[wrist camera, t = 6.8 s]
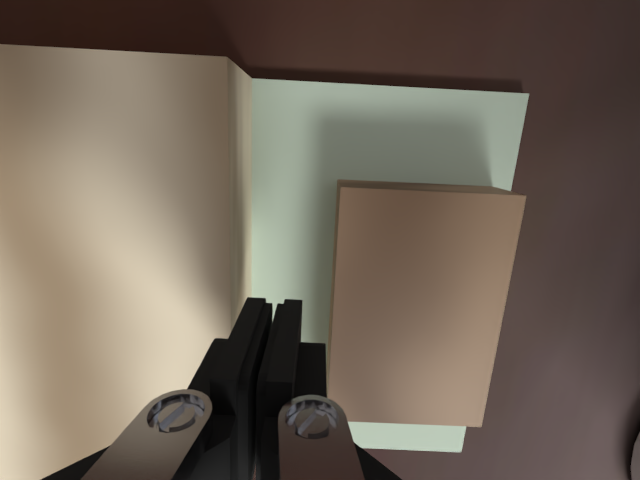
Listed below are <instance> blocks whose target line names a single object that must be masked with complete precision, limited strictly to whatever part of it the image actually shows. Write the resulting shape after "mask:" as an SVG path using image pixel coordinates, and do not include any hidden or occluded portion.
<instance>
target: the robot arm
mask: <svg viewBox="0 0 640 480" xmlns="http://www.w3.org/2000/svg"><path fill="white" fill-rule="evenodd" d="M272 314H273V305H272V303H266V298H253V297H247V299H246V301H245V303H244V306H243V308H242V310H241V312H240V314H239V316H238V318H237V321H236V323H235V325H234V327H233V329H232V331H231V333H230V336H229V338H228V339H225V338H215V339H214V340H213V342H212V343H211V345H210V347H209V349H208V351H207V353H206V355H205V356H204V358H203V360H202V362H201V364H200V366H199V368H198V369H197V371H196V373H195V375H194V377H193V379H192V381H191V383H190V384H189V386H188V388H187V389H181V390H175V391H171V392H168V393H165V394H162V395H160V396H158V397H157V398H155V399H153V400H152V401H151V402H149V403H148V404H147V405H146V406H145V407H144V408H143V409H142V410H141V411H140V413H139V414H138V415H137V416H136V417H135V418H134V419H133V421H132V422H131V423H130V424H129V425H128V426H127V427H126V428H125V430H124V431H123V432H122V433H121V434H120V435H119V436H118V438H117V439H116V440H115V441H114V442H113V443H112V444H111V445H110V446H108V447H106V448H104V449H102V450H100V451H98V452H96V453H94V454H92V455H90V456H88V457H86V458H83V459H81V460H79V461H77V462H75V463H73V464H71V465H69V466H67V467H65V468H63V469H61V470H59V471H57V472H55V473H53V474H51V475H49V476H47V477H45V478H43V479H40V480H252V479H253V474H254V469H255V464H256V480H402V479H401V478H399V477H398V476H397V475H395V474H394V473H393V472H392V471H390V470H389V469H388V468H386V467H385V466H384V465H383V464H381V463H380V462H379V461H377V460H376V459H375V458H374V457H372V456H371V455H370V454H368V453H367V452H366V451H365V450H363V449H362V448H361V447H359V446H358V445H357V444H356V443H354V441H353V438H352V434H351V431H350V428H349V424H348V421H347V417H346V415H345V413H344V411H343V409H342V408H341V407H340V406H339V405H338V404H337V403H336V402H334V401H332V400H331V399H329V398H327V384H326V344H325V343H309V342H301V327H302V300H295V299H285V300H284V304H280V303H278V304H277V307H276V311H275V315H274V318H273V322H272ZM631 477H632V480H640V432H639V434H638V437H637V439H636V442H635V444H634V449H633V455H632V461H631Z"/></svg>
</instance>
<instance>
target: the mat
mask: <svg viewBox="0 0 640 480" xmlns="http://www.w3.org/2000/svg"><path fill="white" fill-rule="evenodd" d="M528 98H529V94H527V93H509V92H490V91H472V90H454V89H436V88H417V87H399V86H381V85H363V84H345V83H326V82H308V81H290V80H272V79H254V78H252V297H253V298H266V303H272V305H273V314H272V322H273V318H274V315H275V311H276V307H277V304H278V303H280V304H284V300H285V299H295V300H302V327H301V342H309V343H325V344H326V369H327V352H328V335H329V317H330V300H331V282H332V265H333V248H334V230H335V213H336V196H337V179H343V180H364V181H386V182H408V183H430V184H451V185H473V186H493V187H497V188H500V189H504V190H508V191H511V187H512V182H513V177H514V172H515V166H516V161H517V156H518V151H519V145H520V140H521V135H522V130H523V124H524V119H525V114H526V108H527V103H528ZM348 424H349V428H350V431H351V434H352V438H353V441H354V443H356V444H357V445H358V446H359V447H361V448H375V449H398V450H420V451H443V452H461V451H462V446H463V440H464V435H465V430H466V426H444V425H420V424H395V423H370V422H348Z"/></svg>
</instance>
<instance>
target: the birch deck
mask: <svg viewBox="0 0 640 480" xmlns="http://www.w3.org/2000/svg"><path fill="white" fill-rule="evenodd" d="M247 297H252V78H251V77H250V76H249V75H248V74H246V73H245V72H244V71H243V70H242V69H241V68H239V67H238V66H237V65H236V64H235V63H234V62H233V61H231V60H230V59H229V58H228V57H222V56H204V55H186V54H168V53H150V52H132V51H114V50H96V49H78V48H60V47H42V46H24V45H6V44H0V480H40V479H43V478H45V477H47V476H49V475H51V474H53V473H55V472H57V471H59V470H61V469H63V468H65V467H67V466H69V465H71V464H73V463H75V462H77V461H79V460H81V459H83V458H86V457H88V456H90V455H92V454H94V453H96V452H98V451H100V450H102V449H104V448H106V447H108V446H110V445H111V444H112V443H113V442H114V441H115V440H116V439H117V438H118V436H119V435H120V434H121V433H122V432H123V431H124V430H125V428H126V427H127V426H128V425H129V424H130V423H131V422H132V421H133V419H134V418H135V417H136V416H137V415H138V414H139V413H140V411H141V410H142V409H143V408H144V407H145V406H146V405H147V404H148V403H149V402H151V401H152V400H153V399H155V398H157V397H158V396H160V395H162V394H165V393H168V392H171V391H175V390H181V389H187V388H188V386H189V384H190V383H191V381H192V379H193V377H194V375H195V373H196V371H197V369H198V368H199V366H200V364H201V362H202V360H203V358H204V356H205V355H206V353H207V351H208V349H209V347H210V345H211V343H212V342H213V340H214V339H215V338H225V339H228V338H229V336H230V333H231V331H232V329H233V327H234V325H235V323H236V321H237V318H238V316H239V314H240V312H241V310H242V308H243V306H244V303H245V301H246V299H247Z"/></svg>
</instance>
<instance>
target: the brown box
mask: <svg viewBox="0 0 640 480" xmlns="http://www.w3.org/2000/svg"><path fill="white" fill-rule="evenodd" d="M525 201H526V195H522V194H518V193H515V192H511V191H508V190H504V189H500V188H497V187H493V186H473V185H451V184H430V183H408V182H386V181H364V180H343V179H337V196H336V213H335V230H334V248H333V265H332V282H331V300H330V317H329V335H328V352H327V369H326V384H327V398H329V399H331V400H332V401H334V402H336V403H337V404H338V405H339V406H340V407H341V408H342V409H343V411H344V413H345V415H346V417H347V421H348V422H370V423H395V424H420V425H444V426H469V427H481V426H482V421H483V416H484V411H485V406H486V401H487V395H488V390H489V385H490V380H491V375H492V370H493V365H494V360H495V355H496V349H497V344H498V339H499V334H500V329H501V324H502V319H503V314H504V309H505V304H506V298H507V293H508V288H509V283H510V278H511V273H512V268H513V263H514V258H515V253H516V247H517V242H518V237H519V232H520V227H521V222H522V217H523V212H524V207H525Z"/></svg>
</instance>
